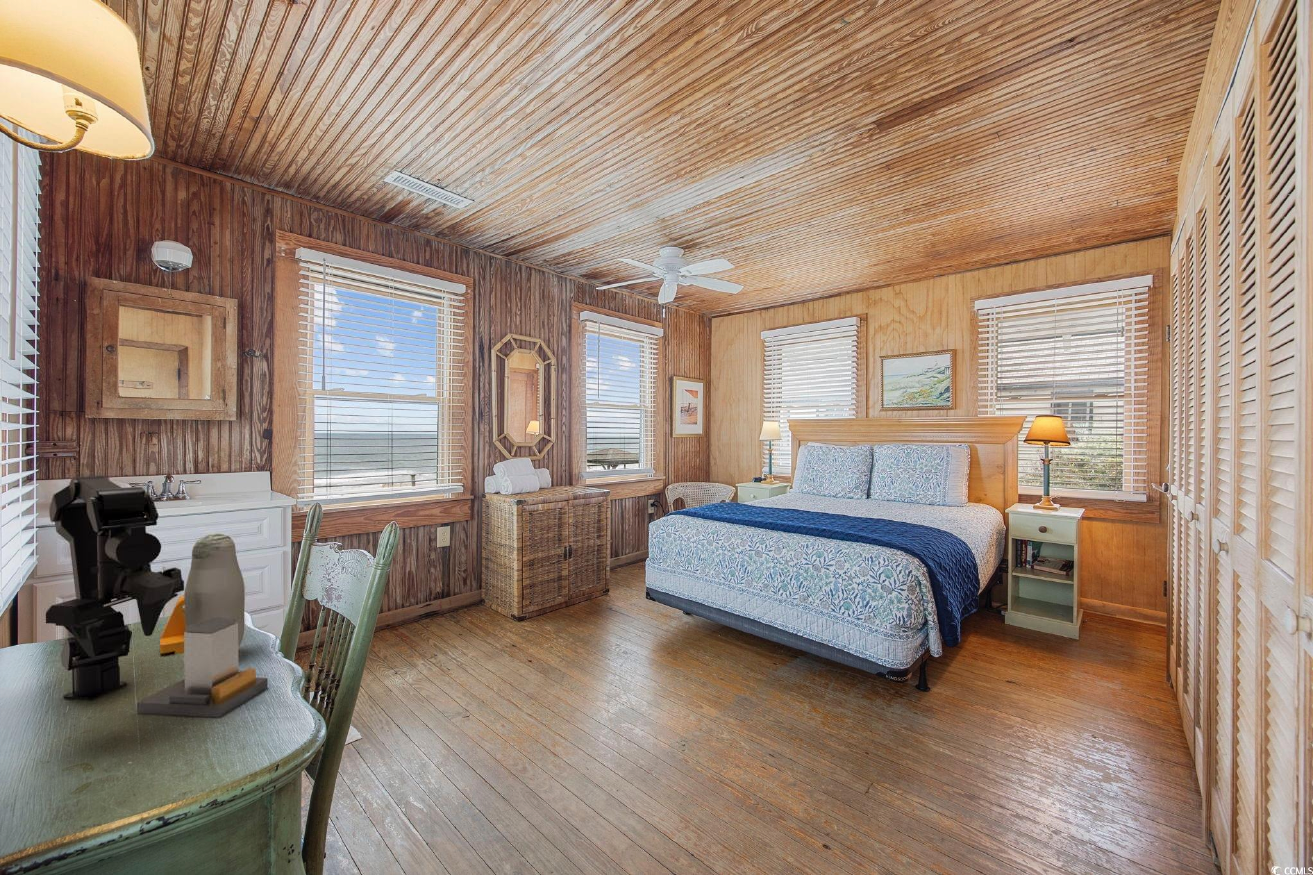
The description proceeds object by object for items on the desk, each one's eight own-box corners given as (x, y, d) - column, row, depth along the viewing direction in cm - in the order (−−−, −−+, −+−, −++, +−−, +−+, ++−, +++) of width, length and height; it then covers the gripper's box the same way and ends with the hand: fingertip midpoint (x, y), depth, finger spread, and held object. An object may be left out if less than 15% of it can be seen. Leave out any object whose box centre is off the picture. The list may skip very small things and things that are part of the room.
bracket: (159, 657, 122) (158, 604, 122) (161, 647, 128) (160, 596, 128) (220, 645, 129) (220, 595, 129) (220, 636, 135) (219, 588, 134)
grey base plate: (136, 713, 99) (136, 688, 99) (193, 684, 110) (192, 662, 110) (219, 717, 97) (218, 692, 97) (267, 687, 108) (267, 665, 108)
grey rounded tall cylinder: (200, 652, 125) (198, 531, 124) (252, 647, 128) (251, 529, 127) (175, 671, 115) (173, 540, 115) (232, 665, 118) (230, 537, 118)
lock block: (184, 696, 101) (183, 627, 101) (212, 682, 106) (211, 616, 106) (212, 698, 100) (211, 628, 100) (238, 683, 106) (237, 617, 106)
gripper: (104, 574, 87) (106, 670, 87) (209, 547, 105) (211, 627, 106) (41, 572, 88) (43, 668, 88) (156, 546, 106) (158, 625, 107)
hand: (122, 645), depth 97 cm, fingers open, 9 cm apart
